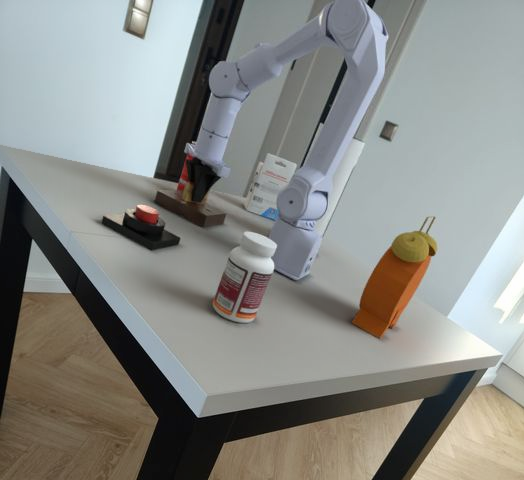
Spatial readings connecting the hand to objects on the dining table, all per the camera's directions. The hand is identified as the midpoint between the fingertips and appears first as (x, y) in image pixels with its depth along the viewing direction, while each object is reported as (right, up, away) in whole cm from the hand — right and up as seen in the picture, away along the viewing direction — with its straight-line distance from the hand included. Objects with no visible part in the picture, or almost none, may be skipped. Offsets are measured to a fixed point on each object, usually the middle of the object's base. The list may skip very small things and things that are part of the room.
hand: (193, 199), depth 104 cm
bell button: (-5, -10, -22) cm, 25 cm away
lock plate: (-1, -2, +1) cm, 3 cm away
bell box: (-6, -12, -21) cm, 25 cm away
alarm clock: (+33, -27, -16) cm, 46 cm away
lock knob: (0, 0, 0) cm, 0 cm away
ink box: (+13, +4, +27) cm, 30 cm away
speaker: (+21, -7, +11) cm, 25 cm away
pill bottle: (+10, -26, -34) cm, 44 cm away
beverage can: (-3, +4, +12) cm, 13 cm away
